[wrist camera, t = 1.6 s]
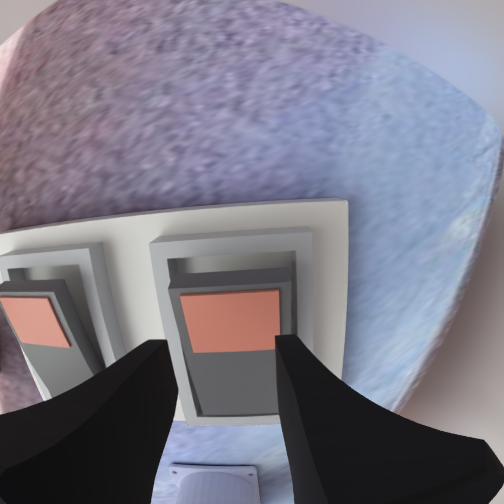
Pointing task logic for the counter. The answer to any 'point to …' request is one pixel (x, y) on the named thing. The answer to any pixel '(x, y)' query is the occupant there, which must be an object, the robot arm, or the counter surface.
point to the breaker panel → (190, 261)
